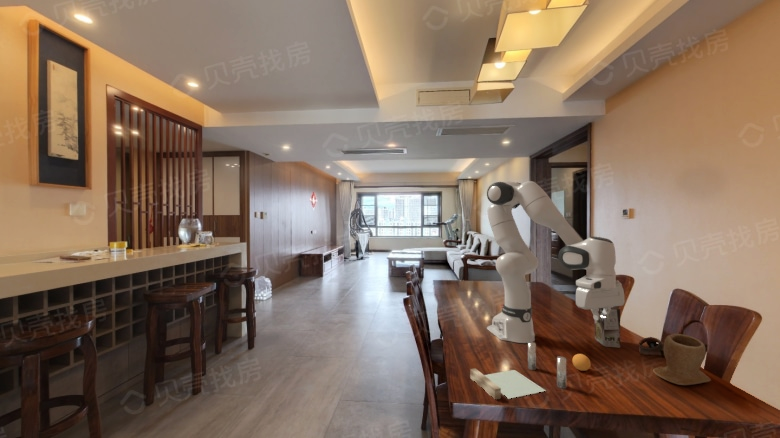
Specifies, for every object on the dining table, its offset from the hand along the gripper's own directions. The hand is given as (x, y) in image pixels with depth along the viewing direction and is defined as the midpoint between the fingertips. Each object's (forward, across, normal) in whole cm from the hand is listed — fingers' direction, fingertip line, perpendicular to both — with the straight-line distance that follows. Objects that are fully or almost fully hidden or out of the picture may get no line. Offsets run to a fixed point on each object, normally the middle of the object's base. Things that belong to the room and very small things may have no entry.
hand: (600, 319), depth 111 cm
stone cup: (+17, -16, +16) cm, 29 cm away
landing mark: (+17, +40, 0) cm, 43 cm away
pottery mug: (+18, -29, 0) cm, 34 cm away
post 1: (+17, +26, -6) cm, 31 cm away
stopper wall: (+17, +50, 0) cm, 52 cm away
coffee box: (+17, -24, -15) cm, 33 cm away
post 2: (+17, +26, +6) cm, 31 cm away
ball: (+14, +10, 0) cm, 17 cm away
